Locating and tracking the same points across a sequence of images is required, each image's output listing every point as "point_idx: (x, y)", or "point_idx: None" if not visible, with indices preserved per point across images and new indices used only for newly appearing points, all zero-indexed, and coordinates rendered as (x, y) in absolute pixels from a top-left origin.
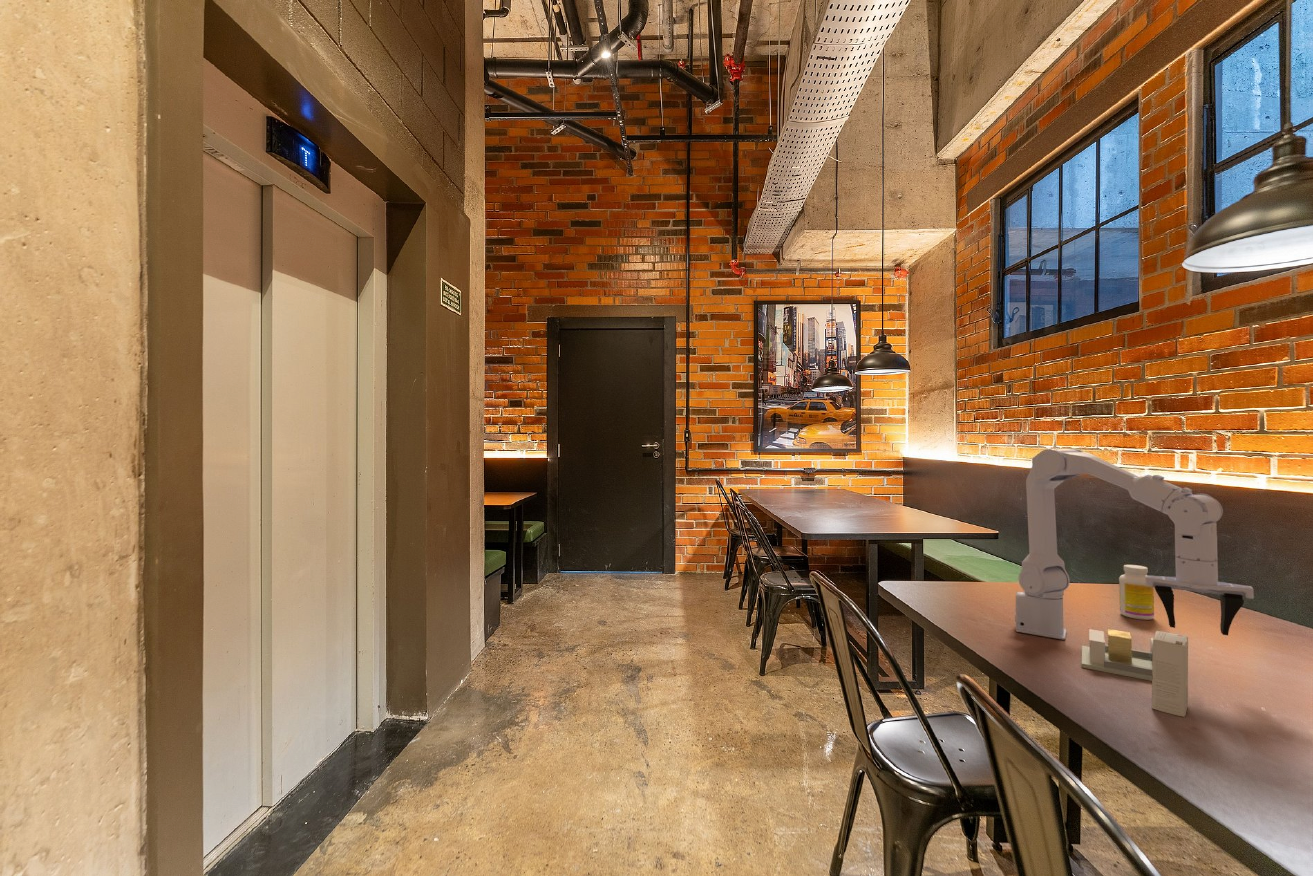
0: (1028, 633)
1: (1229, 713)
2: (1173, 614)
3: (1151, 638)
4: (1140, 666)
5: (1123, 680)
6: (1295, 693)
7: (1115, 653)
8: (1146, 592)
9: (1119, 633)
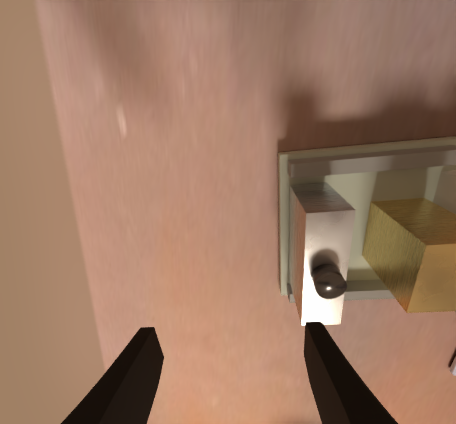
0: None
1: (175, 3)
2: (336, 384)
3: (338, 316)
4: (367, 169)
5: (406, 95)
6: (94, 265)
7: (429, 211)
8: None
9: (448, 284)
